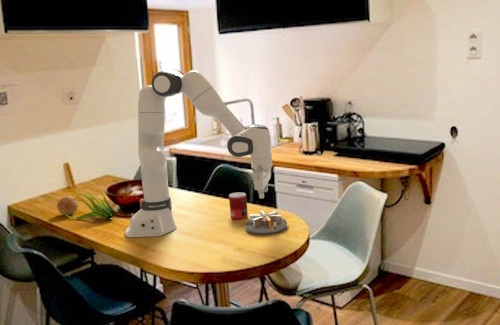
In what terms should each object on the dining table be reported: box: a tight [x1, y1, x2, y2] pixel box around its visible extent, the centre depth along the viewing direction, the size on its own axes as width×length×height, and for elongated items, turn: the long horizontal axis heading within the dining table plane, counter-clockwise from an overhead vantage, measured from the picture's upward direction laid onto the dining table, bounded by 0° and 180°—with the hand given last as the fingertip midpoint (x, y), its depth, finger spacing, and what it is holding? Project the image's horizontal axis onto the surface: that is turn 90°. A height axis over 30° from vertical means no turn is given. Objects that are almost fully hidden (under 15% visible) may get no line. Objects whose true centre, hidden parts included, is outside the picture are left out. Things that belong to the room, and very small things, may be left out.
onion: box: [56, 194, 79, 216], centre depth 266 cm, size 10×10×10 cm
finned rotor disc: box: [249, 210, 282, 228], centre depth 226 cm, size 14×13×4 cm
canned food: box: [228, 191, 249, 221], centre depth 242 cm, size 8×8×11 cm
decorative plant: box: [57, 189, 116, 220], centre depth 257 cm, size 18×30×15 cm, turn 45°
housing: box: [244, 218, 288, 236], centre depth 226 cm, size 18×18×4 cm
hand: (263, 194), depth 223 cm, fingers open, 8 cm apart
